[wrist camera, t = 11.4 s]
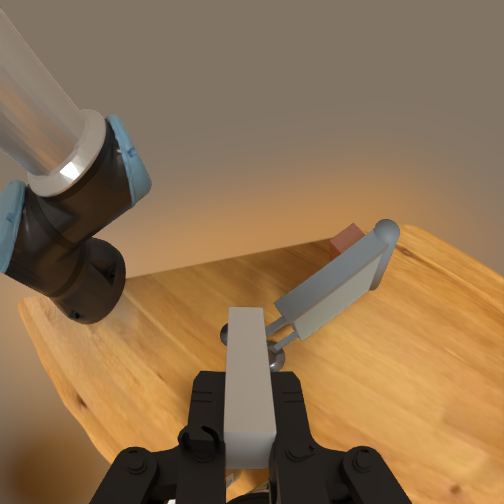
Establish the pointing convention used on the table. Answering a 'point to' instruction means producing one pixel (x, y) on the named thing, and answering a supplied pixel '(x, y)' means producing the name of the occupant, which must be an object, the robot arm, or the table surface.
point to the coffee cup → (254, 496)
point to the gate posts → (336, 248)
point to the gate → (336, 284)
